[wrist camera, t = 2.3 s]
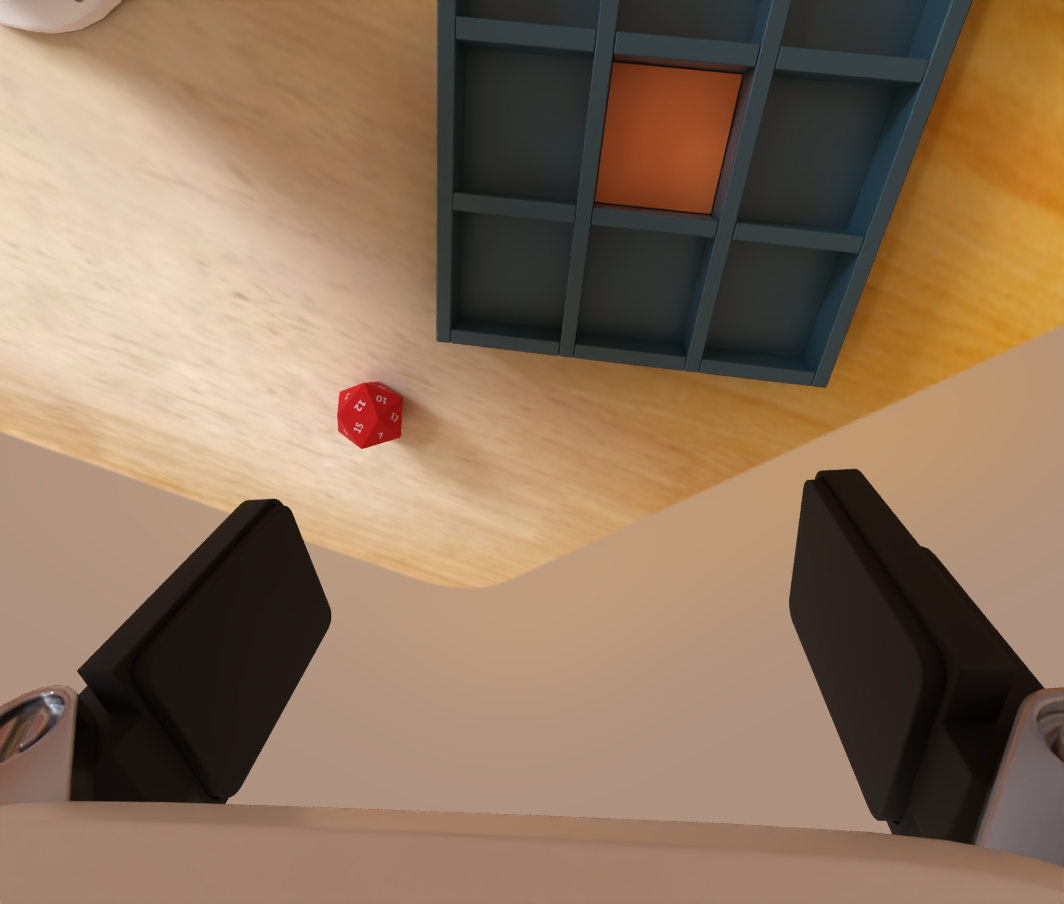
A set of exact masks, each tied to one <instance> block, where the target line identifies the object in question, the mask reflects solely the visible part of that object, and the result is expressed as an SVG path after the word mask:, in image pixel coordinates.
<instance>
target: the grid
mask: <svg viewBox="0 0 1064 904" xmlns="http://www.w3.org/2000/svg"><path fill="white" fill-rule="evenodd" d="M972 1H973V0H438V22H437V322H436V340H437V341H438V342H446V343H450V342H451V343H455V344H463V345H471V346H480V347H488V348H496V349H505V350H513V351H522V352H530V353H538V354H547V355H555V356H558V355H559V356H563V357H573V356H574V358H579V359H588V360H596V361H605V362H613V363H621V364H630V365H638V366H646V367H655V368H663V369H672V370H680V371H683V370H684V371H689V372H698V371H699V372H700V373H706V374H714V375H722V376H731V377H739V378H747V379H756V380H764V381H773V382H781V383H789V384H798V385H806V386H814V387H823V388H826V387H827V384H828V381H829V379H830V376H831V373H832V371H833V368H834V365H835V363H836V360H837V357H838V355H839V352H840V350H841V347H842V344H843V342H844V339H845V336H846V334H847V331H848V328H849V326H850V323H851V320H852V318H853V315H854V313H855V310H856V307H857V305H858V302H859V299H860V297H861V294H862V291H863V289H864V286H865V283H866V281H867V278H868V276H869V273H870V270H871V268H872V265H873V262H874V260H875V257H876V254H877V252H878V249H879V246H880V244H881V241H882V239H883V236H884V233H885V231H886V228H887V225H888V223H889V220H890V217H891V215H892V212H893V209H894V207H895V204H896V202H897V199H898V196H899V194H900V191H901V188H902V186H903V183H904V180H905V178H906V175H907V172H908V170H909V167H910V165H911V162H912V159H913V157H914V154H915V151H916V149H917V146H918V143H919V141H920V138H921V135H922V133H923V130H924V127H925V125H926V122H927V120H928V117H929V114H930V112H931V109H932V106H933V104H934V101H935V98H936V96H937V93H938V90H939V88H940V85H941V83H942V80H943V77H944V75H945V72H946V69H947V67H948V64H949V61H950V59H951V56H952V53H953V51H954V48H955V46H956V43H957V40H958V38H959V35H960V32H961V30H962V27H963V24H964V22H965V19H966V16H967V14H968V11H969V9H970V6H971V3H972Z"/></svg>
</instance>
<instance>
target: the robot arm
mask: <svg viewBox="0 0 1064 904" xmlns="http://www.w3.org/2000/svg"><path fill="white" fill-rule="evenodd" d="M121 1H122V0H0V25H5V26H9V27H13V28H18V29H22V30H27V31H33V32H43V33H54V34H57V33H63V32H69V31H75V30H81V29H83V28H85V27H87V26H89V25H91V24H93V23H95V22H97V21H99V20H101V19H103V18H104V17H105V16H106V15H107V14H108V13H109V12H110V11H111V10H112V9H113V8H115V7H116V6H117V5H118V4H119V3H120V2H121ZM789 608H790V614H791V619H792V622H793V624H794V627H795V629H796V632H797V634H798V636H799V639H800V641H801V644H802V646H803V649H804V651H805V653H806V656H807V658H808V661H809V663H810V666H811V668H812V671H813V673H814V676H815V678H816V681H817V683H818V686H819V688H820V690H821V693H822V695H823V698H824V700H825V703H826V705H827V708H828V710H829V712H830V715H831V717H832V720H833V722H834V725H835V727H836V730H837V732H838V734H839V737H840V739H841V742H842V744H843V747H844V749H845V752H846V754H847V757H848V759H849V761H850V764H851V766H852V769H853V771H854V774H855V776H856V779H857V781H858V783H859V786H860V788H861V791H862V793H863V796H864V798H865V800H866V803H867V805H868V808H869V809H870V812H871V814H872V815H873V816H874V818H875V819H876V820H878V821H887V823H888V826H889V828H890V830H891V832H892V834H882V833H873V832H860V831H843V830H827V829H810V828H794V827H777V826H776V827H775V826H761V825H744V824H725V823H703V822H702V823H701V822H679V821H657V820H656V821H655V820H632V819H610V818H587V817H564V816H541V815H516V814H489V813H464V812H437V811H410V810H382V809H355V808H329V807H328V808H327V807H298V806H265V805H234V804H226V802H227V800H228V798H229V797H232V796H234V795H235V794H236V793H237V792H238V791H239V789H240V788H241V786H242V785H243V783H244V781H245V779H246V777H247V775H248V774H249V772H250V770H251V768H252V766H253V765H254V763H255V761H256V759H257V757H258V755H259V754H260V752H261V750H262V748H263V746H264V745H265V743H266V741H267V739H268V737H269V735H270V734H271V732H272V730H273V728H274V726H275V725H276V723H277V721H278V719H279V717H280V715H281V714H282V712H283V710H284V708H285V706H286V705H287V703H288V701H289V699H290V697H291V695H292V694H293V692H294V690H295V688H296V686H297V684H298V683H299V681H300V679H301V677H302V676H303V673H304V672H305V670H306V668H307V666H308V665H309V662H310V661H311V659H312V657H313V656H314V654H315V652H316V650H317V648H318V647H319V645H320V642H321V641H322V639H323V637H324V636H325V634H326V632H327V630H328V628H329V626H330V622H331V609H330V606H329V604H328V601H327V599H326V596H325V594H324V591H323V588H322V586H321V583H320V581H319V578H318V576H317V574H316V571H315V568H314V566H313V563H312V561H311V558H310V556H309V553H308V551H307V549H306V546H305V544H304V541H303V538H302V536H301V533H300V531H299V528H298V526H297V523H296V521H295V518H294V516H293V513H292V511H291V510H290V508H288V507H287V506H284V505H283V504H282V503H281V502H280V501H279V500H277V499H261V500H247V501H244V502H243V503H241V504H240V505H239V506H238V507H237V508H236V509H235V510H234V511H233V512H232V513H231V514H230V515H229V517H228V518H227V519H226V520H225V521H224V522H223V523H222V524H221V525H220V526H219V527H218V528H217V529H216V530H215V531H214V532H213V533H212V534H211V535H210V536H209V537H208V538H207V539H206V540H205V541H204V542H203V543H202V544H201V545H200V546H199V547H198V548H197V549H196V550H195V551H194V552H193V553H192V554H191V555H190V556H189V557H188V558H187V559H186V561H184V562H183V563H182V564H181V565H180V566H179V568H178V569H176V570H175V572H174V573H173V574H172V575H171V576H170V577H169V578H168V579H167V580H166V581H165V582H164V583H163V584H162V585H161V586H160V587H159V588H158V589H157V590H156V591H155V592H154V593H153V594H152V595H151V596H150V597H149V598H148V599H147V600H146V601H145V602H144V603H143V604H142V605H141V606H140V607H139V608H138V609H137V610H136V611H135V612H134V613H133V614H132V615H131V616H130V618H128V619H127V620H126V621H125V622H124V623H123V624H122V626H120V628H119V629H118V630H117V631H116V632H115V633H114V634H113V635H112V636H111V637H110V638H109V639H108V640H107V641H106V642H105V643H104V644H103V645H102V646H101V647H100V648H99V649H98V650H97V651H96V652H95V653H94V654H93V655H92V656H91V657H90V658H89V659H88V660H87V661H86V662H85V663H84V664H83V665H82V666H81V667H80V668H79V669H78V670H77V672H78V673H79V674H80V676H81V677H82V678H83V680H84V681H85V683H86V684H87V685H88V686H87V687H86V688H85V689H84V690H83V691H82V692H81V693H80V694H79V695H78V694H77V693H76V691H75V690H73V689H72V688H70V687H69V686H63V685H53V686H47V687H42V688H39V689H36V690H33V691H30V692H28V693H25V694H23V695H21V696H19V697H17V698H15V699H13V700H11V701H9V702H7V703H5V704H4V705H2V706H1V707H0V904H1064V688H1048V689H1045V688H1044V687H1043V686H1042V685H1041V684H1040V682H1039V681H1038V680H1037V679H1036V677H1035V676H1034V675H1033V674H1032V673H1031V671H1030V670H1029V669H1028V668H1027V666H1026V665H1025V664H1024V663H1023V662H1022V660H1021V659H1020V658H1019V657H1018V655H1017V654H1016V653H1015V652H1014V651H1013V649H1012V648H1011V647H1010V646H1009V644H1008V643H1007V642H1006V641H1005V640H1004V638H1003V637H1002V636H1001V635H1000V633H999V632H998V631H997V630H996V629H995V627H994V626H993V625H992V624H991V623H990V621H989V620H988V619H987V618H986V616H985V615H984V614H983V613H982V611H981V610H980V609H979V608H978V607H977V605H976V604H975V603H974V602H973V601H972V599H971V598H970V597H969V596H968V594H967V593H966V592H965V591H964V590H963V588H962V587H961V586H960V585H959V583H958V582H957V581H956V580H955V579H954V577H953V576H952V575H951V574H950V572H949V571H948V570H947V569H946V568H945V566H944V565H943V564H942V563H941V561H940V560H939V559H938V558H937V557H936V555H935V554H933V553H932V552H931V551H930V550H929V549H928V548H925V547H922V546H920V545H919V544H918V543H917V541H916V540H915V539H914V538H913V537H912V535H911V534H910V533H909V531H908V530H907V529H906V528H905V526H904V525H903V524H902V523H901V522H900V520H899V519H898V518H897V516H896V515H895V514H894V513H893V512H892V510H891V509H890V508H889V506H888V505H887V504H886V503H885V502H884V500H883V499H882V498H881V496H880V495H879V494H878V493H877V491H876V490H875V489H874V488H873V486H872V485H871V484H870V483H869V481H868V480H867V479H866V478H865V477H864V475H863V474H862V473H861V472H860V471H859V470H858V469H845V470H825V471H819V472H818V473H817V475H816V477H815V480H807V481H806V482H805V484H804V488H803V496H802V503H801V512H800V519H799V527H798V535H797V543H796V551H795V558H794V566H793V574H792V582H791V590H790V597H789Z"/></svg>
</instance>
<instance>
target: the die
mask: <svg viewBox="0 0 1064 904" xmlns="http://www.w3.org/2000/svg"><path fill="white" fill-rule="evenodd" d="M402 405H403V398H402V397H401V396H399V395H398V394H396V393H395V392H393V391H392V390H390V389H389V388H387V387H386V386H384V385H383V384H381V383H380V382H369V383H362V384H359V385H357V386H354V387H351V388H349V389H346V390H343V391H341V392H340V394H339V404H338V413H337V418H338V431H339V432H340V433H342V434H343V435H344V436H345V437H347V438H348V439H349V440H350V441H352V442H353V443H354V444H356V445H357V446H358V447H359V448H361V449H364V448H367V447H370V446H374V445H377V444H380V443H384V442H387V441H390V440H394V439H397V438H400V437H401V424H402Z"/></svg>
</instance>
